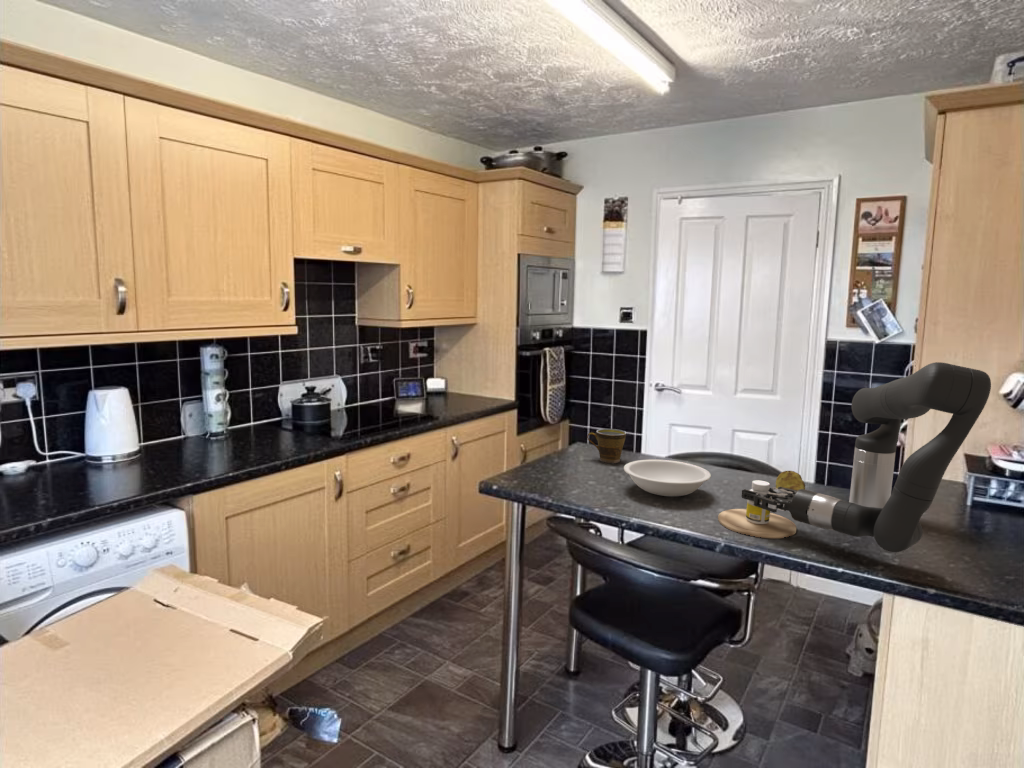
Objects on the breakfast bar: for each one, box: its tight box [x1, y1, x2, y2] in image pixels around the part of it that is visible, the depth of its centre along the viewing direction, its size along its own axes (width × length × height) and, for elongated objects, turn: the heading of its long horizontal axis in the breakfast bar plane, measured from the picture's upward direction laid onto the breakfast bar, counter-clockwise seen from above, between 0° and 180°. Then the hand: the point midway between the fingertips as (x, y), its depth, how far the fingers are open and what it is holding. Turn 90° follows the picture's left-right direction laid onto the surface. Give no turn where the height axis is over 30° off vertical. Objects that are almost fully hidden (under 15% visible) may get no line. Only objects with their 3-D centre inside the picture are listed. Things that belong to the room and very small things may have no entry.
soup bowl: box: [623, 459, 712, 497], centre depth 176 cm, size 24×24×7 cm
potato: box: [775, 470, 806, 491], centre depth 170 cm, size 8×13×8 cm, turn 148°
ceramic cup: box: [586, 428, 627, 464], centre depth 209 cm, size 13×10×10 cm
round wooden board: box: [717, 508, 797, 539], centre depth 153 cm, size 18×18×1 cm
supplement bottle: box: [746, 479, 772, 524], centre depth 152 cm, size 5×5×10 cm
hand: (749, 491), depth 153 cm, fingers open, 6 cm apart
